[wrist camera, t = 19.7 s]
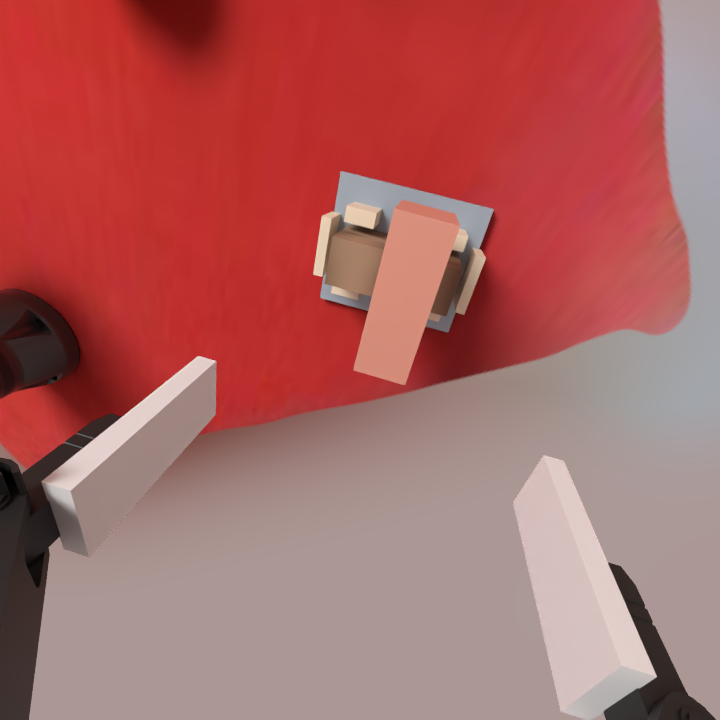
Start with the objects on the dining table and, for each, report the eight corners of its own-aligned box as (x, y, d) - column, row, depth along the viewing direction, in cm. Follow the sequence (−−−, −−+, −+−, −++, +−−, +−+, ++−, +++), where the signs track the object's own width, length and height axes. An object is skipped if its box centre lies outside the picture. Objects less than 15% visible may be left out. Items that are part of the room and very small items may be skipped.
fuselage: (342, 264, 42) (324, 283, 35) (350, 223, 40) (332, 236, 33) (444, 291, 41) (446, 316, 34) (458, 251, 39) (462, 270, 32)
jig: (320, 294, 45) (308, 308, 41) (340, 170, 38) (328, 171, 34) (449, 329, 44) (451, 347, 40) (494, 209, 37) (502, 215, 33)
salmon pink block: (367, 336, 37) (353, 370, 31) (402, 199, 30) (394, 208, 24) (409, 348, 36) (404, 385, 30) (455, 213, 30) (460, 225, 24)
